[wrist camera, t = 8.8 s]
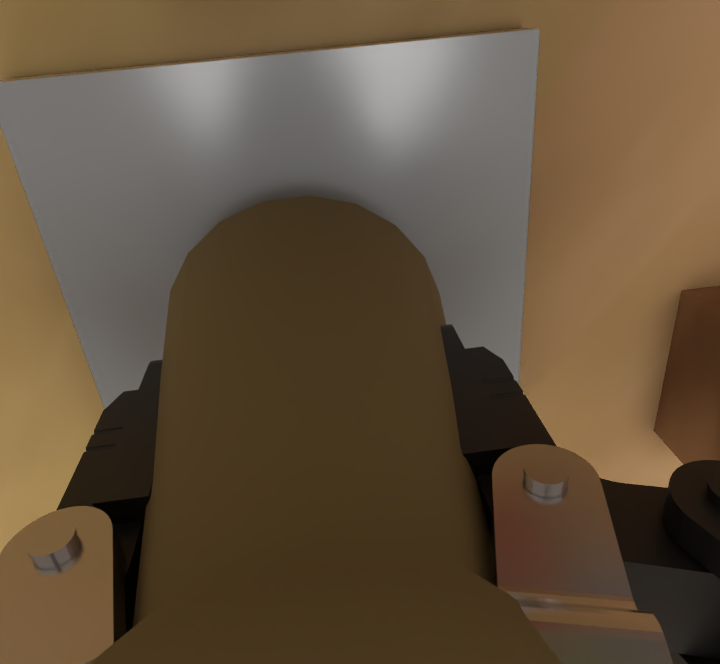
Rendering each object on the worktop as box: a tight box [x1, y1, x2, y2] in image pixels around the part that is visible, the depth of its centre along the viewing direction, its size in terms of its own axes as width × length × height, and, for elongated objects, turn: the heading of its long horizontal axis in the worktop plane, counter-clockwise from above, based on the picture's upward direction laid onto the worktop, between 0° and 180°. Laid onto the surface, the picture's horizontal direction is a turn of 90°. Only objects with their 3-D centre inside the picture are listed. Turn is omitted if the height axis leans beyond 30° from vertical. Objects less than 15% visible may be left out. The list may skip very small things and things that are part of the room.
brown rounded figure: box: [91, 195, 561, 664], centre depth 8 cm, size 6×6×11 cm
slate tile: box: [0, 28, 540, 409], centre depth 15 cm, size 11×11×1 cm
